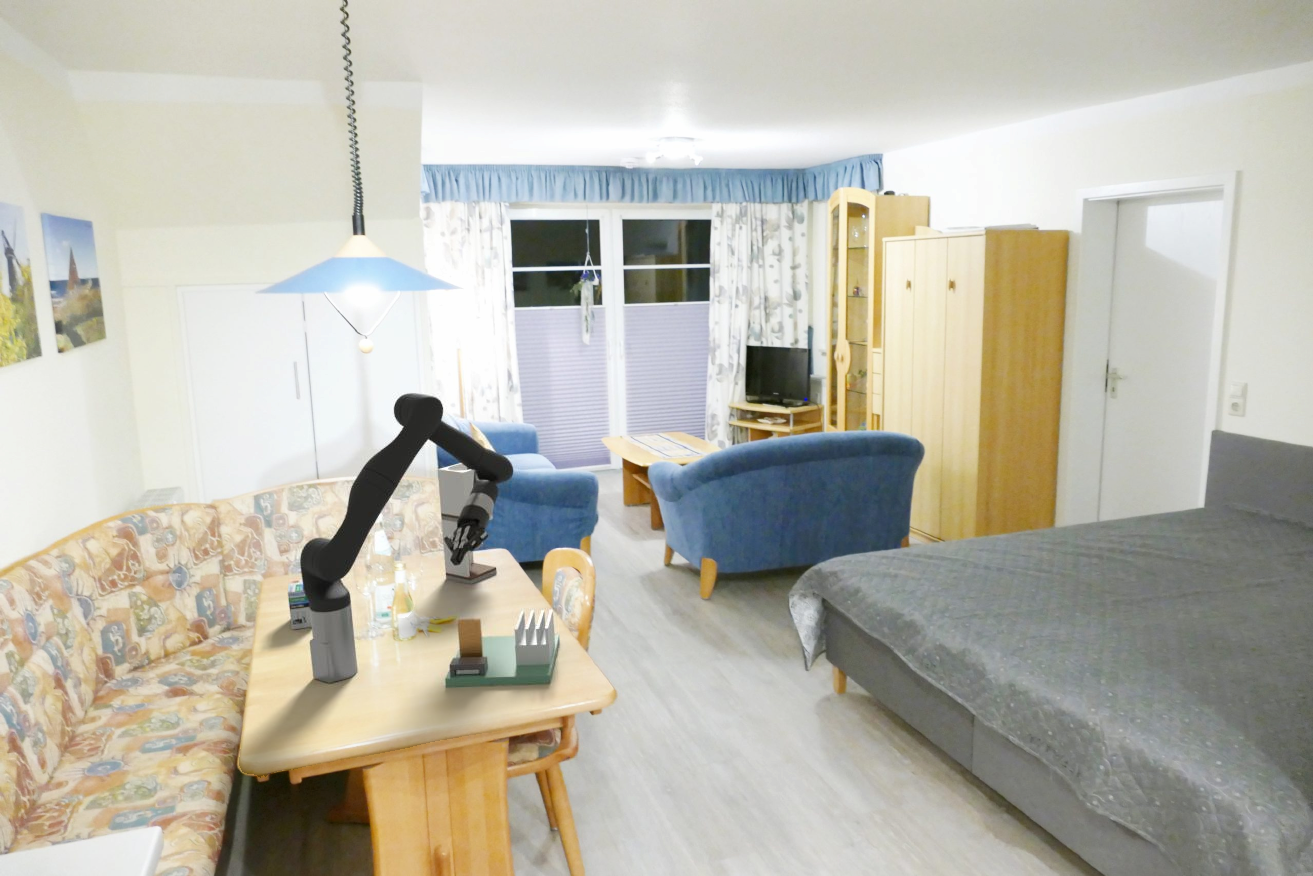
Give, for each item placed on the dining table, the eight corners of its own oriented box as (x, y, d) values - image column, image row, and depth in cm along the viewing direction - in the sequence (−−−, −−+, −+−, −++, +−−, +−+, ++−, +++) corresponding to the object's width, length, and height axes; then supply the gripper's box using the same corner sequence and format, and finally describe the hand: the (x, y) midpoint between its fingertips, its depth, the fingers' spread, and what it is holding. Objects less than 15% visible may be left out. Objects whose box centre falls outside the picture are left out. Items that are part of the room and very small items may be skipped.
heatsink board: (465, 644, 233) (462, 603, 231) (559, 641, 233) (557, 600, 231) (445, 687, 210) (442, 642, 208) (550, 683, 210) (547, 638, 208)
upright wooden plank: (461, 663, 216) (458, 619, 214) (483, 662, 216) (480, 618, 214) (456, 674, 211) (453, 629, 209) (479, 673, 211) (476, 628, 209)
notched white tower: (470, 584, 278) (462, 472, 272) (446, 578, 284) (437, 469, 278) (496, 573, 288) (489, 465, 281) (472, 568, 293) (464, 462, 287)
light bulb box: (317, 626, 248) (313, 589, 247) (291, 630, 246) (287, 592, 244) (318, 613, 258) (314, 577, 256) (292, 617, 256) (288, 580, 254)
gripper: (447, 508, 240) (425, 557, 227) (489, 498, 235) (469, 548, 222) (462, 528, 244) (441, 577, 231) (504, 518, 239) (484, 568, 226)
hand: (455, 563), depth 226 cm, fingers closed
